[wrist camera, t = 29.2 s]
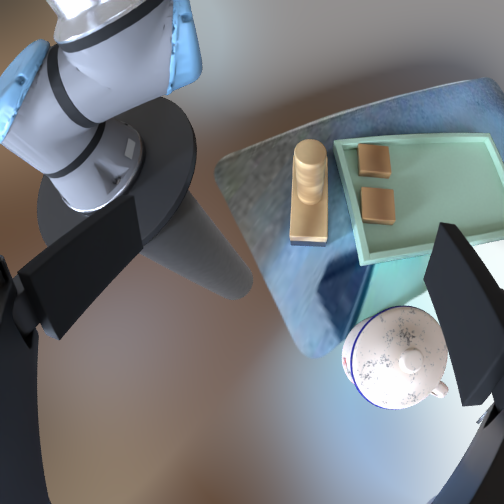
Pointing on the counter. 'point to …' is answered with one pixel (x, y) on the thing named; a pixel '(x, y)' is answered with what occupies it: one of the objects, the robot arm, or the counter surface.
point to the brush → (309, 195)
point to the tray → (426, 192)
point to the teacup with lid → (396, 357)
